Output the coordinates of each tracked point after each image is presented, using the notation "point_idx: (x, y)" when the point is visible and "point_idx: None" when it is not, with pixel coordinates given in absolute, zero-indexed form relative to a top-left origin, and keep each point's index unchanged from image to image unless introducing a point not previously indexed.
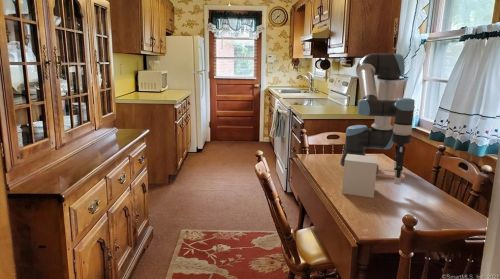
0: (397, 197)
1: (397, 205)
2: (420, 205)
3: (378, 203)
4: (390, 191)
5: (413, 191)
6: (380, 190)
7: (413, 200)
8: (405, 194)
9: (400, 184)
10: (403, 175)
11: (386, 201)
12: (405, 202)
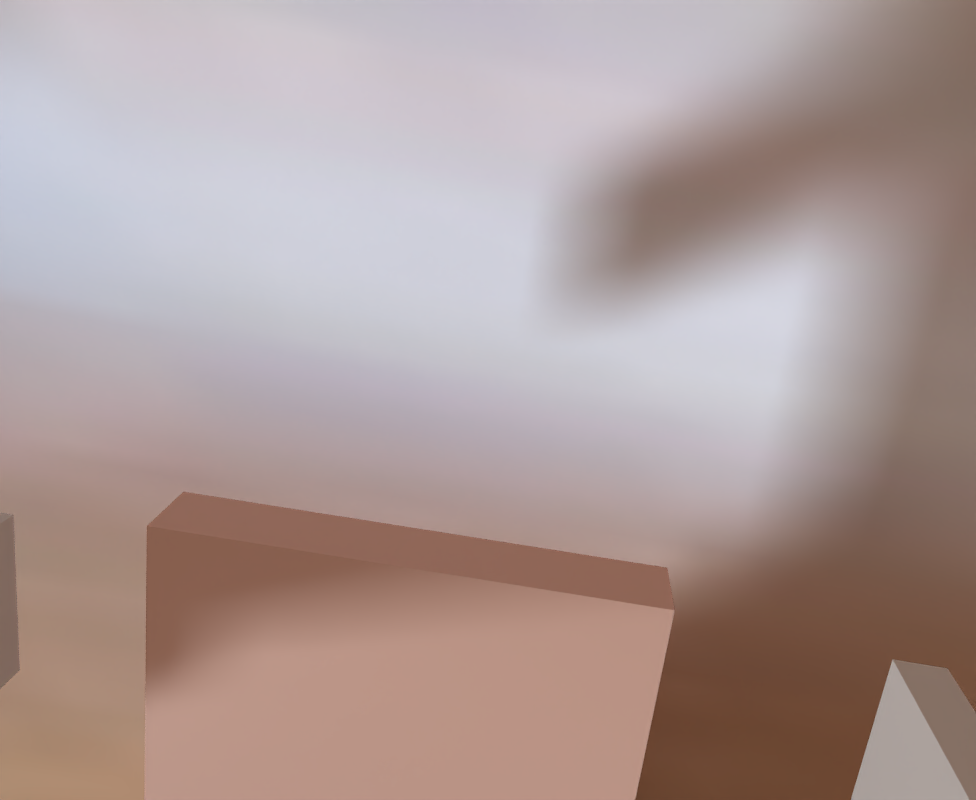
0: (517, 425)
1: (971, 504)
2: (899, 35)
3: None
4: (209, 494)
5: (20, 15)
6: None
7: (613, 131)
8: (284, 233)
9: (951, 678)
10: (499, 619)
11: (789, 654)
12: (773, 323)
